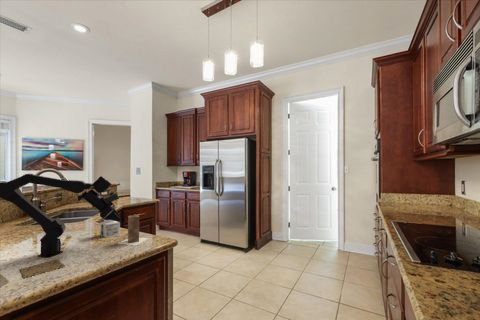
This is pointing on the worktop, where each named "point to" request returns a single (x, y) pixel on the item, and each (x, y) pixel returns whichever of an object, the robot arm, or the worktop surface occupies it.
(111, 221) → the container
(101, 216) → the robot arm
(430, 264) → the worktop surface
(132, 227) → the walnut block
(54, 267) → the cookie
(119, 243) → the tile
